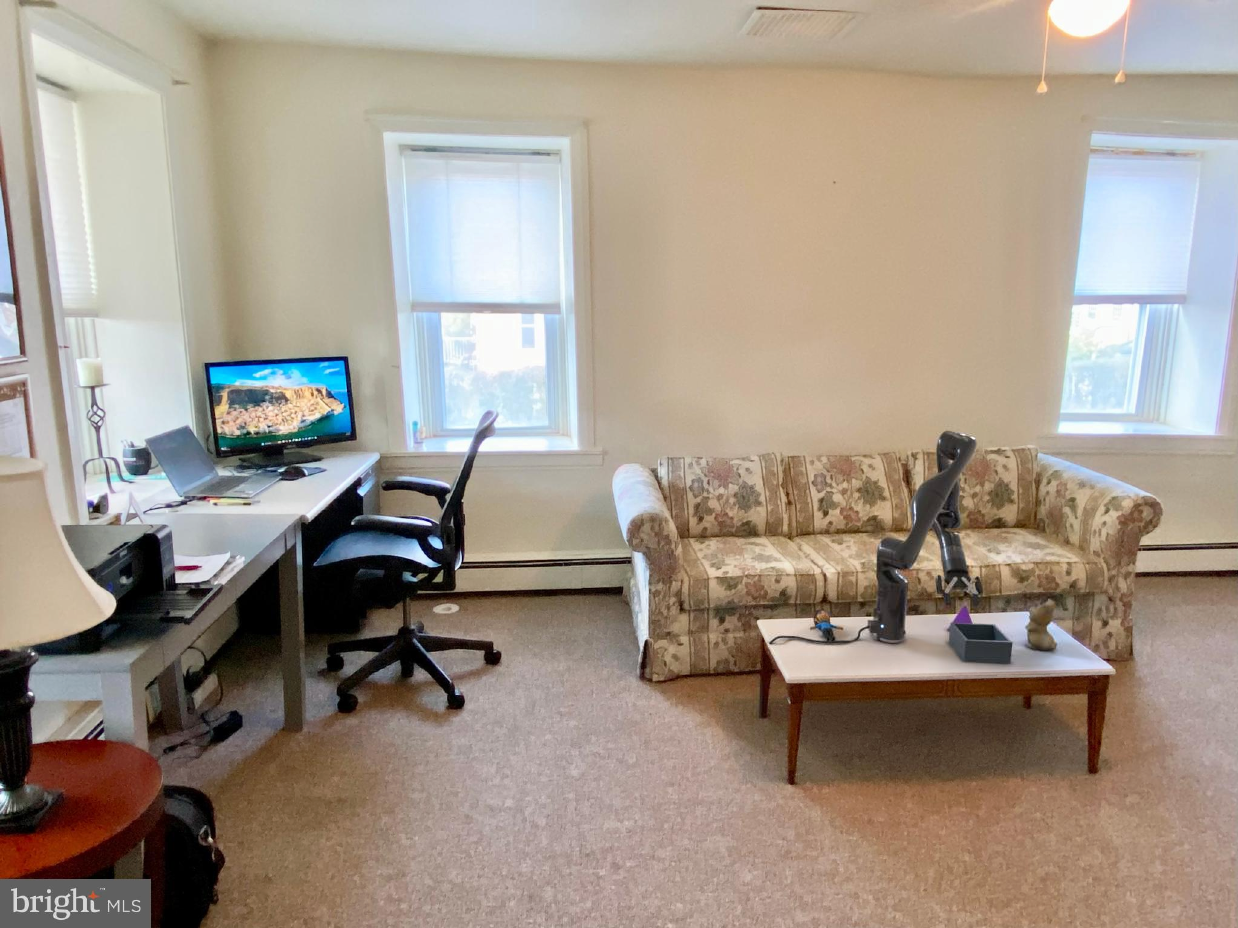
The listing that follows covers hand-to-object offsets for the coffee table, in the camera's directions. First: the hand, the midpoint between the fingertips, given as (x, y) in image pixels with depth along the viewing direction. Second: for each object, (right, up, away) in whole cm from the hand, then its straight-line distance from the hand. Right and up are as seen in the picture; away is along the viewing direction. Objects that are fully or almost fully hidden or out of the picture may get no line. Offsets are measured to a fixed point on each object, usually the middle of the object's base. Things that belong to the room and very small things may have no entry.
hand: (962, 606), depth 248 cm
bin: (-1, -12, -14) cm, 18 cm away
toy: (-45, -9, 0) cm, 46 cm away
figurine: (+20, -11, -8) cm, 24 cm away
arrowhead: (0, -9, 0) cm, 9 cm away
